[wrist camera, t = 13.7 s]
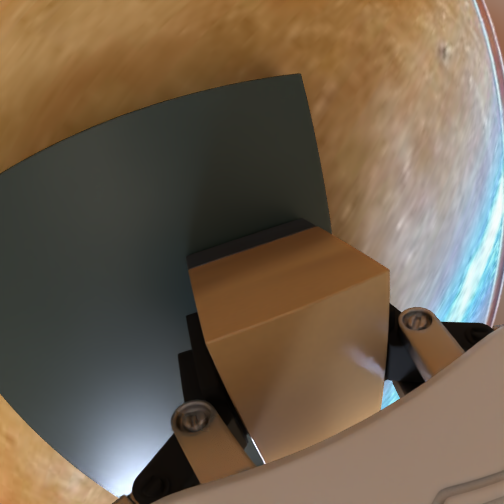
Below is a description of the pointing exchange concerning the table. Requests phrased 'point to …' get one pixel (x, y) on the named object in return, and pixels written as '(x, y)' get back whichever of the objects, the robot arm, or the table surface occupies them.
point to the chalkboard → (137, 259)
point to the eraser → (294, 332)
